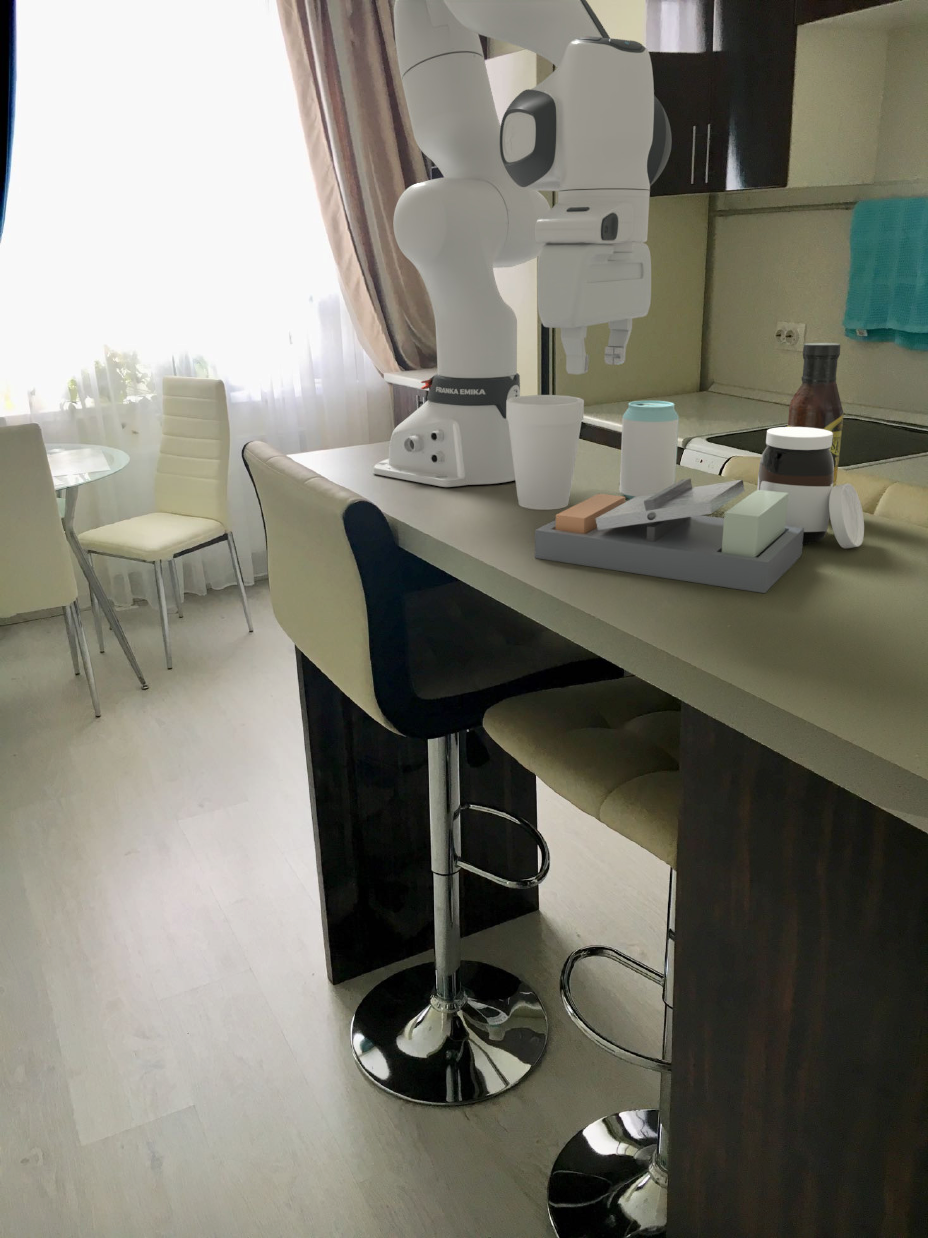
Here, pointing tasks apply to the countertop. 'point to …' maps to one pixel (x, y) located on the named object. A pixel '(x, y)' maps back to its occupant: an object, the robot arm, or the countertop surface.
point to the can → (648, 448)
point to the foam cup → (544, 447)
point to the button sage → (754, 523)
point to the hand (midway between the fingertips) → (596, 368)
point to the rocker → (671, 504)
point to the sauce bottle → (819, 395)
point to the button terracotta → (587, 513)
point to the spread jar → (810, 485)
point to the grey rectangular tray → (673, 552)
